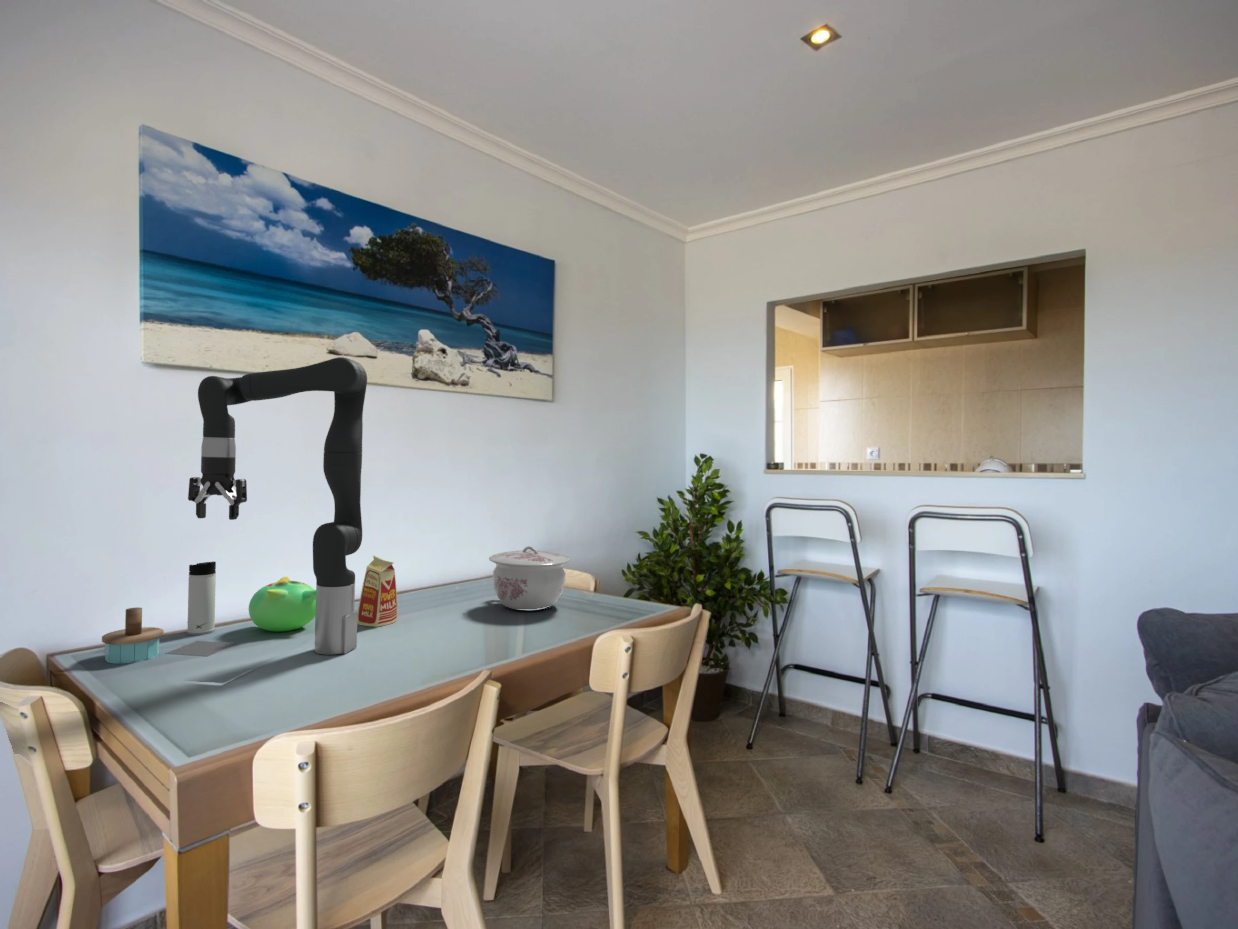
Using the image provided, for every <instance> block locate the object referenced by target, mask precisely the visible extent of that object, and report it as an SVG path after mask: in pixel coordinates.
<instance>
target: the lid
mask: <svg viewBox="0 0 1238 929" xmlns="http://www.w3.org/2000/svg"><path fill="white" fill-rule="evenodd" d="M124 622H125V625H124V629H118V630H114V631H109V632H107V633H105V634H104V635H102V636H101V642H102V643H103V644H105V643H106V644H114V645H121V644H134V643H141V642H146V641H151V640H154V639H157V638H159V639H160V638H161V637H163V636H164V629H162V628H160V627H151V626H150V627H148V626H146V627H145V626H143V608H142V607H128V608H126V609H125V621H124Z"/></svg>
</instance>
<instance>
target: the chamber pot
mask: <svg viewBox="0 0 1238 929" xmlns="http://www.w3.org/2000/svg"><path fill="white" fill-rule="evenodd" d="M488 559H489V561H490V562H491V563H494V564H495V565H496V566H495V568H494V570H493V571H492V583H493V590H494V593H495V595H496V597H497V598H498V600H499V602H500V603H501V605H503V606H504V607H506V608H507V607H508V608H507V609H510V608H511V609H510V610H513V609H537V608H543V607H547V606H550V605H552V604H554V603H555V602H556V603H557V601H558V600H559V598H560V597H561V594H562V593H563V592H564V588H565V583H566V572H565V570H564V568H563V566H564V565H565V564H568V563H569V562H570V561H571V559H570V558H569V557H568V556H566V555H565V554H564V555H563V554H560V553H557V552H552V551H551V552H550V551H546V550H545V551H544V550H537V549H536V548H534V547H533V546H530V545H529V546H526V547H524V549H523V550H511V551H503V552H500V553H496V554H493V555H491V556H489V558H488ZM556 603H555V604H556ZM555 604H554V605H555Z"/></svg>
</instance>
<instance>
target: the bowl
mask: <svg viewBox="0 0 1238 929" xmlns="http://www.w3.org/2000/svg"><path fill="white" fill-rule="evenodd" d="M159 652H160V638H157V639H154V640H151V641H146V642H141V643H134V644H121V645H114V644H106V643H104V660H105V661H106V662H107V663H111V664H131V663H139V662H142V661H147V660H150V659H153V658H155V657H157V656H158V655H159Z"/></svg>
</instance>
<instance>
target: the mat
mask: <svg viewBox="0 0 1238 929" xmlns="http://www.w3.org/2000/svg"><path fill="white" fill-rule="evenodd" d="M237 644H238V643H237V642H225V641H224V642H222V641H208V640H207V641H206V640H195V641H194V642H191V643H188V644H186V645H183V646H180V647H177V648H176V649H173V650H170V651H168V652H165V653H164V654H166V655H167V654H168V655H177V656H179V655H180V656H193V657H194V656H195V657H196V656H198V657H210V656H212V655H214V654H216V653H218V652H221V651H224V650H225V649H228V648H230V647H232V646H235V645H237Z"/></svg>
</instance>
